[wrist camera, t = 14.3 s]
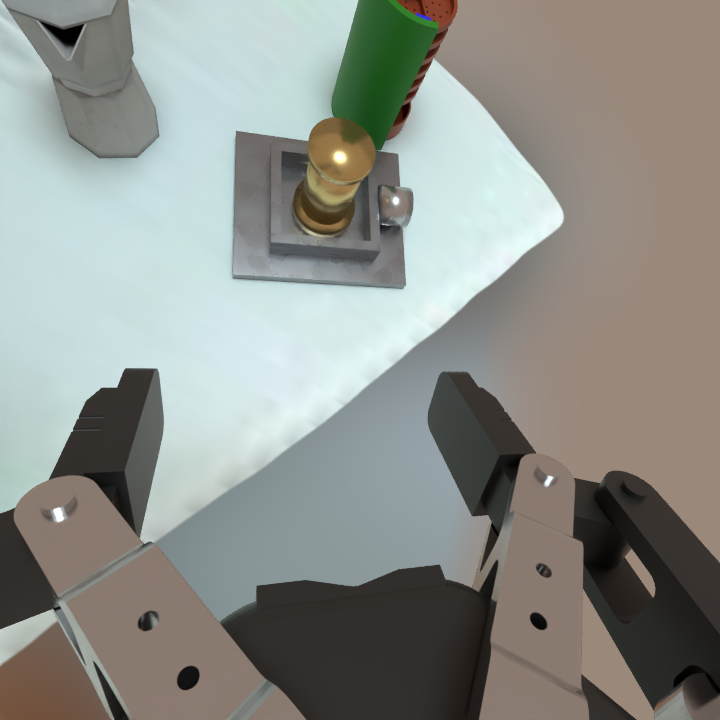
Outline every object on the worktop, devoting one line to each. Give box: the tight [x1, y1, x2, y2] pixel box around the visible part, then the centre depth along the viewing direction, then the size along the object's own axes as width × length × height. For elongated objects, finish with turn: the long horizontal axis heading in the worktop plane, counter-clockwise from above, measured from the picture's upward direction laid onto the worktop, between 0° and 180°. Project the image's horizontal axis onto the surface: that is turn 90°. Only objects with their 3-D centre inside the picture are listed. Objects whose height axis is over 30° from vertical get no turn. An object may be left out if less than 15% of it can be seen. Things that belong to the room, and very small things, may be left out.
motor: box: [332, 0, 457, 150], centre depth 43 cm, size 10×9×20 cm
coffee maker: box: [2, 0, 159, 158], centre depth 36 cm, size 15×9×18 cm, turn 12°
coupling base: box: [233, 131, 413, 288], centre depth 45 cm, size 18×16×5 cm
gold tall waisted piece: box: [292, 118, 376, 238], centre depth 42 cm, size 6×6×10 cm
